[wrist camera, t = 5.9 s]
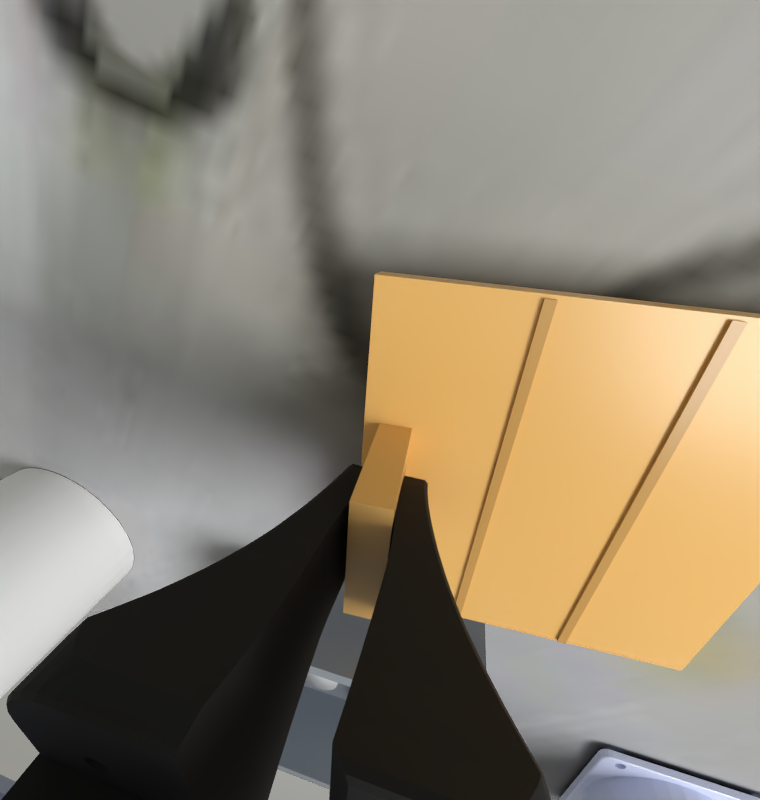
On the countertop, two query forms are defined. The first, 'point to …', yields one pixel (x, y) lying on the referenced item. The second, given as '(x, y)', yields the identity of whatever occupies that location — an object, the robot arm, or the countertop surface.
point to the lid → (565, 460)
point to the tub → (334, 692)
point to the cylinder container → (51, 564)
